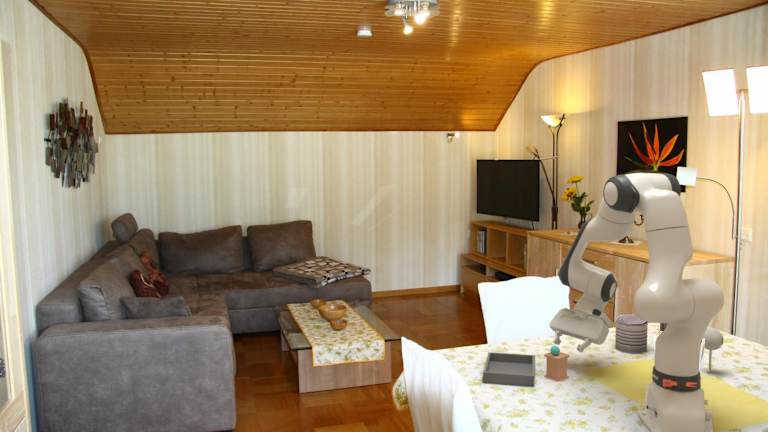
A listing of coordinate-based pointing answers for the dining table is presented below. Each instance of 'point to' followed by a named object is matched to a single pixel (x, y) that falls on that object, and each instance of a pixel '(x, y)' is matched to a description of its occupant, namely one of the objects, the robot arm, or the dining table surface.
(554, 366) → the terracotta square pedestal
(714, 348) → the lollipop
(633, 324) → the can
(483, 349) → the dining table surface
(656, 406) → the robot arm
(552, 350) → the teal ball
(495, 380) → the charcoal tray
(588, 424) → the dining table surface
